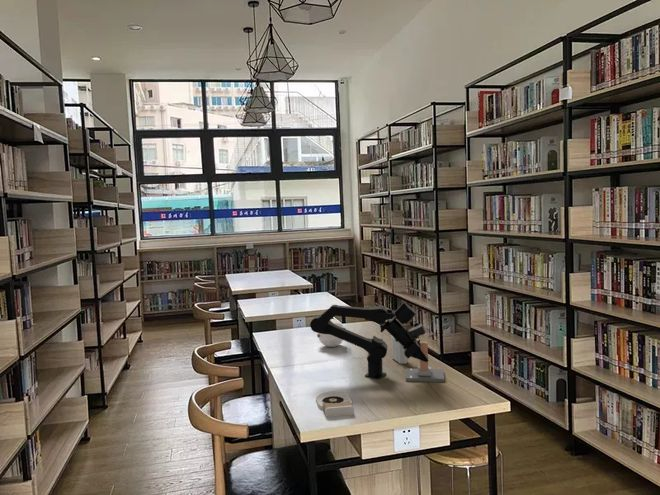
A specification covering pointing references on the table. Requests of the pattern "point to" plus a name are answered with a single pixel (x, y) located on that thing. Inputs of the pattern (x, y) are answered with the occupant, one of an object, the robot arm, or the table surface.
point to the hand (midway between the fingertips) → (427, 360)
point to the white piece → (330, 336)
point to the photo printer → (398, 352)
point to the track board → (435, 376)
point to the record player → (335, 404)
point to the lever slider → (424, 368)
